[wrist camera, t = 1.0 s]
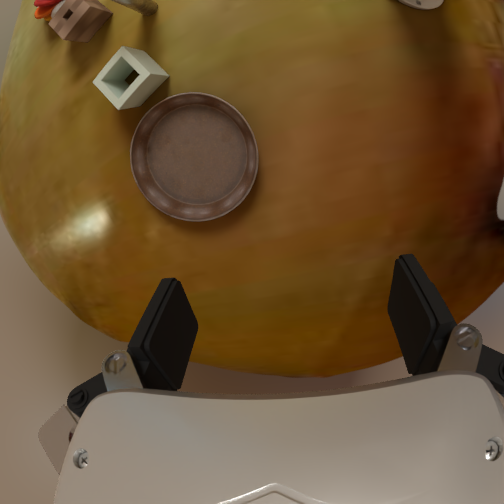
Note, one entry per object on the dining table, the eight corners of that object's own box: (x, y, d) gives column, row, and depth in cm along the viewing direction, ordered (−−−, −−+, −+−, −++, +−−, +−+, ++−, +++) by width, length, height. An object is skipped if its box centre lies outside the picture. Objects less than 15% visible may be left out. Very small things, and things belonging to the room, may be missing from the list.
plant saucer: (119, 163, 36) (109, 169, 34) (189, 68, 28) (181, 66, 26) (204, 234, 42) (199, 244, 39) (287, 152, 34) (288, 157, 31)
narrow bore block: (95, -2, 20) (73, -9, 15) (113, 13, 23) (90, 6, 18) (71, 26, 23) (48, 23, 18) (87, 42, 25) (63, 40, 20)
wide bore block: (144, 50, 27) (122, 45, 22) (169, 76, 29) (150, 73, 24) (116, 81, 29) (92, 82, 24) (140, 106, 31) (118, 110, 26)
